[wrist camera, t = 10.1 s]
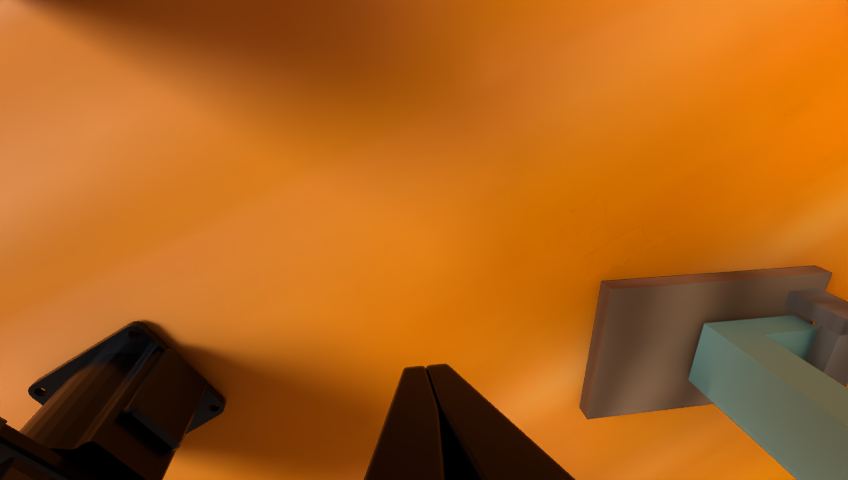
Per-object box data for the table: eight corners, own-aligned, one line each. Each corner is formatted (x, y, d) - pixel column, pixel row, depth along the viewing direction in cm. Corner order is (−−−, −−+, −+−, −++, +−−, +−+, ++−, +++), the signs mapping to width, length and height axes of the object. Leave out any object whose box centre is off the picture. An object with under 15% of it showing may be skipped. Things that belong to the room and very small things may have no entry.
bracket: (579, 407, 27) (615, 461, 23) (601, 281, 24) (648, 320, 20) (770, 384, 29) (832, 431, 26) (815, 265, 26) (893, 298, 22)
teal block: (688, 379, 26) (844, 523, 18) (704, 323, 25) (883, 451, 16) (814, 365, 27) (1015, 493, 19) (837, 311, 26) (1065, 424, 18)
